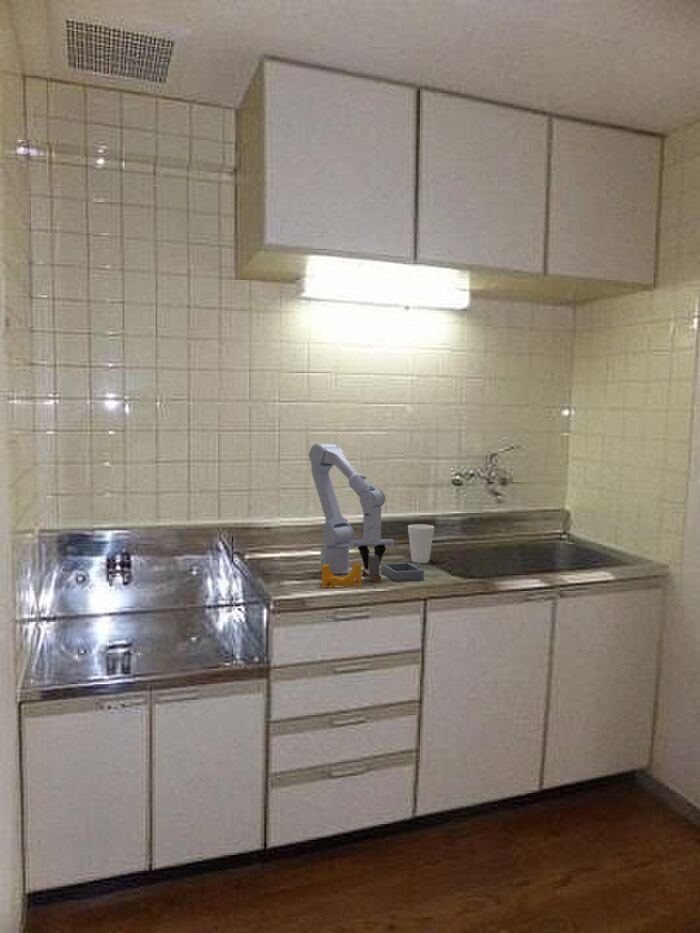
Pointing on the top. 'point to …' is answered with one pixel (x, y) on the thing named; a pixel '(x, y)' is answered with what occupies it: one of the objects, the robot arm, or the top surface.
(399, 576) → the parts tray
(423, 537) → the foam cup
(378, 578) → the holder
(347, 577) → the pipe clamp
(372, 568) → the grey block
